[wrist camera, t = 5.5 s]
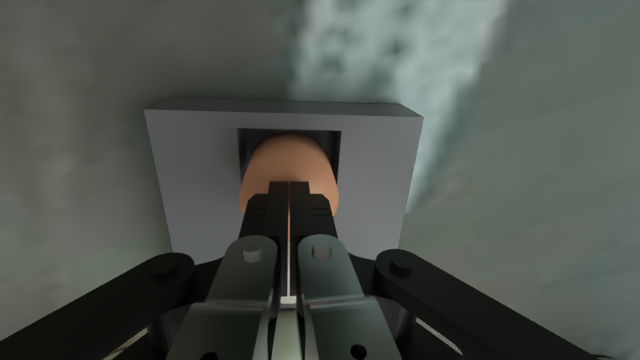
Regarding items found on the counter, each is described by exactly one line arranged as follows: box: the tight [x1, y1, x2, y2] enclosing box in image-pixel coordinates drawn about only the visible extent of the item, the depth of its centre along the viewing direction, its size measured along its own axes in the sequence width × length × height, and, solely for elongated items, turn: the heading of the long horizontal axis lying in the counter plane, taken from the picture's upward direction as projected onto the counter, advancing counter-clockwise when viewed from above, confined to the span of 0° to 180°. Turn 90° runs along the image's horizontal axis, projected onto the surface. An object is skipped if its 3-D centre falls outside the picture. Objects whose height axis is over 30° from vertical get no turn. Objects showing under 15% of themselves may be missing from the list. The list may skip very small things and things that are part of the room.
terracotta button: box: [239, 132, 339, 241], centre depth 13 cm, size 4×4×3 cm
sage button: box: [273, 308, 300, 360], centre depth 18 cm, size 4×4×3 cm
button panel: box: [144, 97, 424, 308], centre depth 18 cm, size 12×17×3 cm
